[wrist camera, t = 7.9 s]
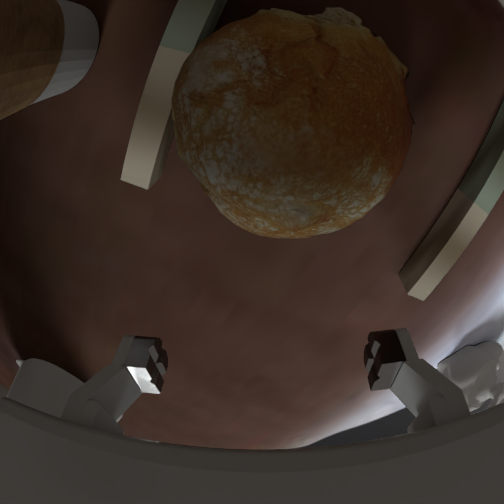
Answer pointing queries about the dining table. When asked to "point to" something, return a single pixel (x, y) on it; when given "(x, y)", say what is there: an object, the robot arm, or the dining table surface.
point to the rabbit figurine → (476, 373)
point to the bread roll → (293, 120)
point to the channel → (162, 130)
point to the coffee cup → (43, 50)
